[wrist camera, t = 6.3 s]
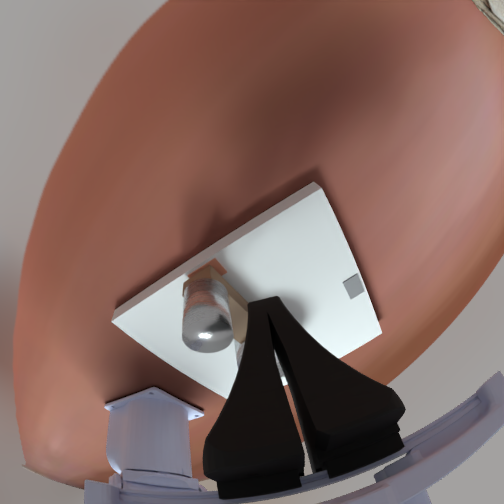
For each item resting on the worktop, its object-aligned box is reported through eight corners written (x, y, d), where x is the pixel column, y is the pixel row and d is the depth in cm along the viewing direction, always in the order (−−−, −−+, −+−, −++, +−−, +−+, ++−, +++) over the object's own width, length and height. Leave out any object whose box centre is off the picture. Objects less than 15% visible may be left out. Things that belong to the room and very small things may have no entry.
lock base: (236, 395, 26) (237, 405, 25) (114, 310, 18) (111, 322, 17) (376, 324, 23) (382, 333, 22) (313, 181, 15) (322, 188, 14)
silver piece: (312, 338, 20) (329, 382, 16) (258, 367, 21) (268, 411, 17) (227, 244, 14) (235, 296, 11) (160, 291, 15) (152, 346, 12)
